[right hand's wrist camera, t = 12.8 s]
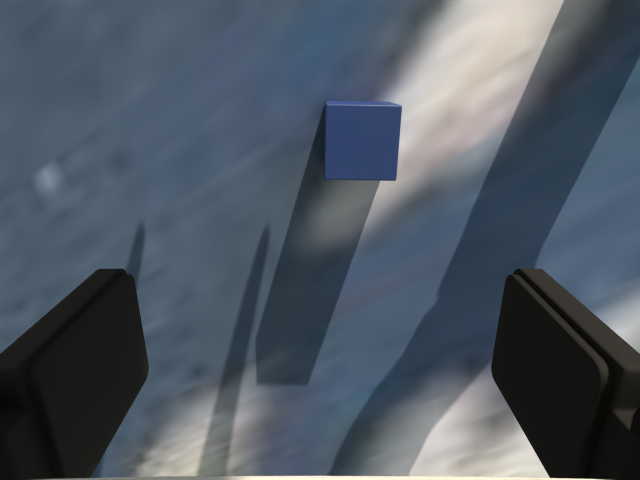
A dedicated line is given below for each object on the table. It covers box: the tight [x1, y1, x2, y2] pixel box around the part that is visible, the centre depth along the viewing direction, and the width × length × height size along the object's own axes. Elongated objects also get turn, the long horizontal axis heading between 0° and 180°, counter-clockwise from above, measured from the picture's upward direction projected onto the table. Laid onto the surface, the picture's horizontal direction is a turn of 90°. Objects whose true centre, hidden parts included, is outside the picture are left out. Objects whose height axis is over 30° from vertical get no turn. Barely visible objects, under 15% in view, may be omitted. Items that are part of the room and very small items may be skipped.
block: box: [324, 101, 402, 181], centre depth 27 cm, size 4×4×4 cm
